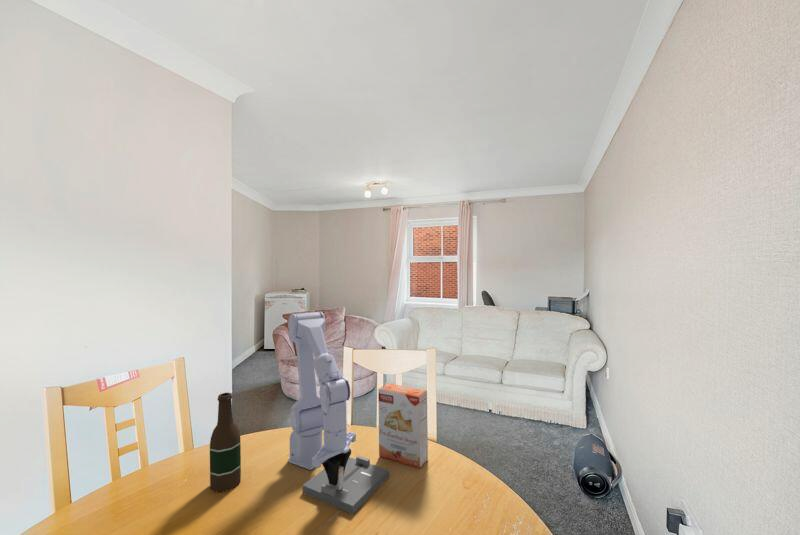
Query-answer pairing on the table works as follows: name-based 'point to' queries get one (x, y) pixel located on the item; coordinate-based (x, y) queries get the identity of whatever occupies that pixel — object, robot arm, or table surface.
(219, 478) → the beer bottle
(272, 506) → the table surface
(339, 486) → the fader tab
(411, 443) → the cracker box
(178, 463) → the table surface
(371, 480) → the console
